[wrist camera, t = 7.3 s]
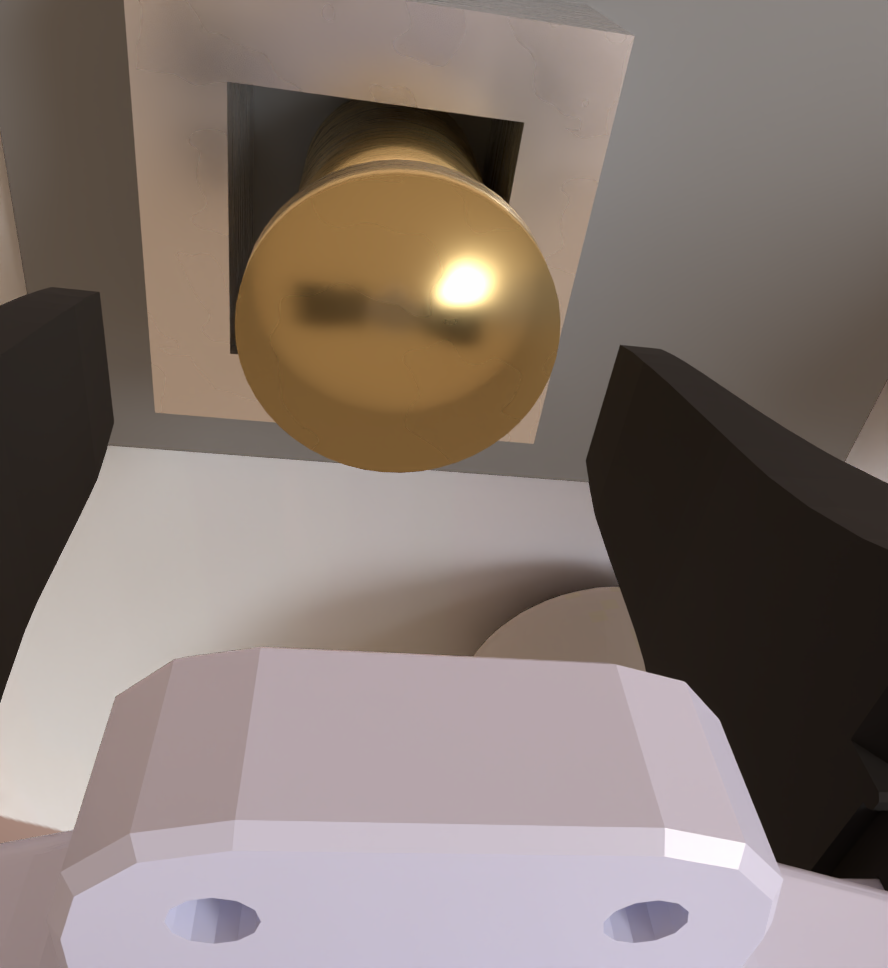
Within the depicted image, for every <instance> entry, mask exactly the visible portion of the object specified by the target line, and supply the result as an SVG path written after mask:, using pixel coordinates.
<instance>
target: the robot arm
mask: <svg viewBox="0 0 888 968" xmlns="http://www.w3.org/2000/svg"><path fill="white" fill-rule="evenodd" d="M113 425H114V416H113V407H112V398H111V389H110V380H109V371H108V362H107V353H106V344H105V335H104V326H103V317H102V308H101V299H100V292H96V291H86V290H76V289H67V288H57V287H50V288H46V289H42V290H38V291H35V292H33V293H30V294H27V295H25V296H22V297H20V298H17V299H15V300H12V301H10V302H8V303H5V304H3V305H1V306H0V702H1V699H2V695H3V692H4V689H5V687H6V684H7V681H8V678H9V675H10V672H11V669H12V666H13V663H14V661H15V658H16V655H17V652H18V649H19V646H20V643H21V640H22V637H23V635H24V632H25V629H26V627H27V625H28V622H29V620H30V618H31V615H32V613H33V611H34V608H35V606H36V604H37V601H38V599H39V597H40V595H41V593H42V591H43V589H44V587H45V585H46V583H47V581H48V579H49V577H50V575H51V573H52V571H53V569H54V567H55V565H56V563H57V561H58V559H59V557H60V555H61V553H62V551H63V549H64V547H65V545H66V543H67V541H68V539H69V537H70V535H71V533H72V531H73V529H74V527H75V525H76V523H77V521H78V519H79V516H80V514H81V512H82V510H83V508H84V506H85V504H86V502H87V500H88V498H89V496H90V494H91V492H92V489H93V487H94V485H95V483H96V481H97V478H98V475H99V472H100V469H101V466H102V463H103V460H104V456H105V453H106V450H107V446H108V443H109V439H110V436H111V432H112V428H113ZM586 466H587V473H588V479H589V486H590V492H591V497H592V502H593V508H594V513H595V517H596V520H597V523H598V526H599V529H600V532H601V535H602V538H603V541H604V544H605V547H606V550H607V553H608V556H609V559H610V562H611V564H612V567H613V570H614V573H615V576H616V579H617V582H618V584H619V587H620V590H621V593H622V596H623V599H624V602H625V604H626V607H627V610H628V613H629V616H630V619H631V622H632V624H633V627H634V630H635V633H636V637H637V640H638V643H639V647H640V650H641V654H642V657H643V661H644V665H645V670H646V672H644V671H640V670H636V669H632V668H628V667H624V666H620V665H616V664H612V663H602V662H581V661H560V660H538V659H517V658H496V657H474V656H453V655H431V654H410V653H388V652H367V651H346V650H324V649H303V648H281V647H255V648H248V649H240V650H233V651H225V652H218V653H210V654H203V655H195V656H187V657H182V658H178V659H174V660H172V661H171V662H169V663H168V664H166V665H165V666H163V667H161V668H160V669H158V670H157V671H155V672H154V673H152V674H150V675H149V676H147V677H146V678H144V679H143V680H141V681H139V682H138V683H136V684H135V685H133V686H132V687H130V688H129V689H127V690H125V691H124V692H122V693H121V694H119V695H118V696H116V697H115V700H114V703H113V706H112V710H111V713H110V716H109V719H108V722H107V725H106V729H105V732H104V735H103V738H102V741H101V745H100V748H99V751H98V754H97V757H96V760H95V764H94V767H93V770H92V773H91V776H90V780H89V783H88V786H87V789H86V792H85V795H84V799H83V802H82V805H81V808H80V811H79V815H78V818H77V821H76V824H75V827H74V830H71V831H66V832H60V833H55V834H49V835H44V836H38V837H33V838H27V839H22V840H16V841H11V842H6V843H0V968H888V483H886V482H883V481H881V480H879V479H877V478H875V477H873V476H871V475H869V474H867V473H865V472H863V471H861V470H859V469H857V468H855V467H853V466H851V465H849V464H847V463H845V462H843V461H842V460H840V459H838V458H836V457H834V456H832V455H831V454H829V453H827V452H825V451H823V450H822V449H820V448H818V447H816V446H815V445H813V444H811V443H810V442H808V441H806V440H805V439H803V438H801V437H800V436H798V435H796V434H795V433H793V432H791V431H790V430H788V429H786V428H785V427H783V426H781V425H780V424H778V423H777V422H775V421H774V420H772V419H771V418H769V417H767V416H766V415H764V414H763V413H761V412H760V411H758V410H757V409H755V408H754V407H752V406H751V405H749V404H748V403H746V402H745V401H743V400H742V399H740V398H739V397H737V396H736V395H734V394H733V393H731V392H730V391H728V390H727V389H725V388H724V387H723V386H721V385H720V384H718V383H717V382H715V381H714V380H712V379H711V378H709V377H708V376H706V375H705V374H703V373H702V372H700V371H699V370H697V369H696V368H694V367H693V366H691V365H689V364H688V363H686V362H685V361H683V360H681V359H680V358H678V357H676V356H674V355H672V354H671V353H668V352H666V351H664V350H662V349H657V348H647V347H637V346H627V345H620V346H619V350H618V353H617V357H616V360H615V363H614V367H613V370H612V373H611V377H610V380H609V383H608V387H607V390H606V394H605V397H604V400H603V404H602V407H601V410H600V414H599V417H598V421H597V424H596V427H595V431H594V434H593V437H592V441H591V444H590V447H589V451H588V454H587V458H586Z"/></svg>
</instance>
